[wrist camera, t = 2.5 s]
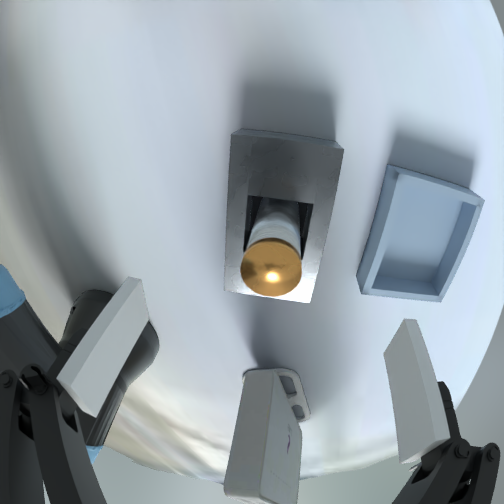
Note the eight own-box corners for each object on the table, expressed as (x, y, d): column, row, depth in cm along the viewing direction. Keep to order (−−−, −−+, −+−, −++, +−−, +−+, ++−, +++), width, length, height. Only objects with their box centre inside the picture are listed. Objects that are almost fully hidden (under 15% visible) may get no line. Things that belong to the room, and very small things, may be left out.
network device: (313, 424, 47) (308, 513, 30) (272, 427, 49) (260, 512, 32) (291, 352, 35) (279, 498, 18) (230, 357, 37) (197, 490, 20)
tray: (431, 285, 27) (440, 302, 24) (356, 275, 28) (361, 294, 25) (469, 189, 21) (484, 200, 18) (387, 164, 21) (398, 172, 19)
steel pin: (257, 224, 26) (238, 292, 18) (260, 187, 24) (242, 241, 16) (296, 230, 26) (296, 300, 17) (302, 193, 24) (307, 250, 16)
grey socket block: (308, 277, 28) (309, 302, 25) (232, 266, 29) (223, 290, 26) (335, 141, 21) (344, 149, 18) (241, 128, 22) (231, 134, 18)
